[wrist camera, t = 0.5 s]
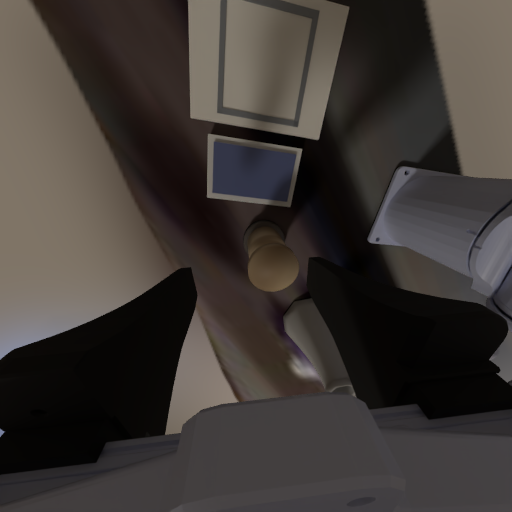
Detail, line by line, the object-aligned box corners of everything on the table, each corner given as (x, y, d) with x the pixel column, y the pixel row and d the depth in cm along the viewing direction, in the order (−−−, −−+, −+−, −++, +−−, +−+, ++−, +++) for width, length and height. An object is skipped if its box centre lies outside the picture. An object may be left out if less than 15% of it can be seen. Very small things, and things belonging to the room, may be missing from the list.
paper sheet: (347, 10, 13) (350, 6, 13) (317, 139, 17) (319, 139, 16) (188, -34, 12) (187, -41, 11) (191, 118, 15) (190, 117, 15)
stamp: (286, 222, 20) (307, 247, 14) (278, 258, 22) (294, 294, 16) (245, 217, 19) (249, 242, 13) (241, 255, 21) (242, 292, 15)
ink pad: (298, 149, 17) (303, 148, 16) (287, 205, 19) (291, 207, 18) (209, 135, 16) (207, 133, 15) (208, 195, 18) (206, 197, 17)
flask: (288, 294, 24) (318, 369, 15) (339, 298, 25) (394, 371, 16) (277, 333, 27) (296, 415, 18) (322, 335, 28) (362, 414, 19)
